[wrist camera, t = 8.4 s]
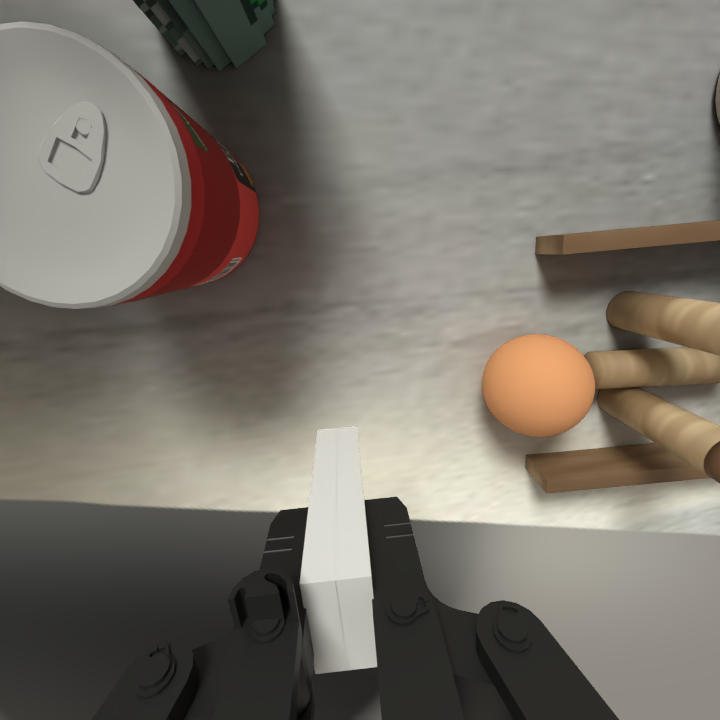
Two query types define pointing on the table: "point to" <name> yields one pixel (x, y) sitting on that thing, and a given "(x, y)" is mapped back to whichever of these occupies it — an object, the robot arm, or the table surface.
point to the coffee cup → (718, 99)
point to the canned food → (107, 180)
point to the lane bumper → (624, 460)
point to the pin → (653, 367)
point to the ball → (538, 385)
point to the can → (212, 27)
